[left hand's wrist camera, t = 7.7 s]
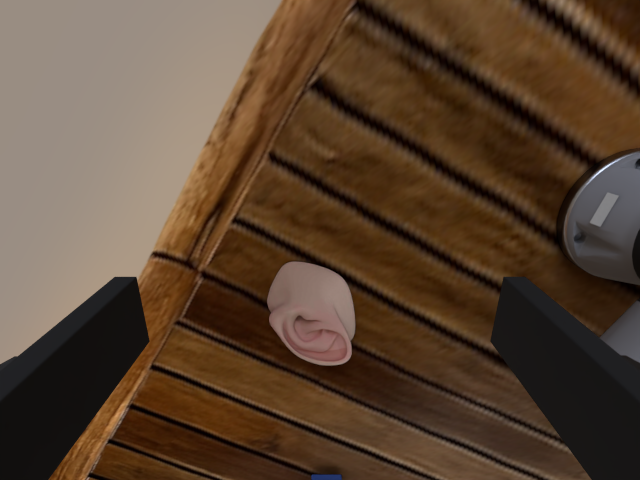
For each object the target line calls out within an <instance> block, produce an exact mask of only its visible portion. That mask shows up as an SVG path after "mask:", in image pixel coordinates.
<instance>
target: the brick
mask: <svg viewBox="0 0 640 480" xmlns="http://www.w3.org/2000/svg"><path fill="white" fill-rule="evenodd" d="M311 480H342V475H312V479H311Z"/></svg>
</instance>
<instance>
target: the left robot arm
mask: <svg viewBox="0 0 640 480" xmlns="http://www.w3.org/2000/svg"><path fill="white" fill-rule="evenodd" d="M557 235H558V240H559V244H560V246H561V249H562V251H563V252H564V254H565V255H566V257H567V258H568V259H569V260H570V261H571V262H572V263H574V264H575V265H577V266H578V267H580V268H582V269H583V270H585V271H586V272H588V273H590V274H592V275H595V276H598V277H602V278H606V279H611V280H616V281H621V282H626V283H632V284H637V285H640V148H637V149H630V150H626V151H622V152H619V153H617V154H614V155H612V156H610V157H607V158H606V159H604V160H602V161H600V162H599V163H597V164H596V165H594V166H593V167H592V168H590V169H589V170H588V171H587V172H586V173H584V174H583V175H582V176H581V177H580V178H579V179H578V181H577V182H576V183H575V184H574V185H573V187H572V188H571V190H570V191H569V193H568V194H567V196H566V198H565V200H564V202H563V204H562V207H561V209H560V213H559V217H558V223H557ZM148 343H149V336H148V331H147V327H146V322H145V317H144V312H143V307H142V302H141V297H140V292H139V288H138V283H137V278H136V277H114V278H113V279H112V280H111V281H109V282H108V283H107V284H106V285H104V286H103V287H102V288H101V289H100V290H98V291H97V292H96V293H95V294H93V295H92V296H91V297H90V298H89V299H87V300H86V301H85V302H84V303H83V304H81V305H80V306H79V307H78V308H76V309H75V310H74V311H73V312H72V313H70V314H69V315H68V316H67V317H65V318H64V319H63V320H62V321H61V322H59V323H58V324H57V325H56V326H55V327H53V328H52V329H51V330H50V331H48V332H47V333H46V334H45V335H44V336H42V337H41V338H40V339H39V340H37V341H36V342H35V343H34V344H32V345H31V346H30V347H29V348H28V349H26V350H25V351H24V352H23V353H22V354H20V355H19V356H18V357H13V358H11V359H9V360H7V361H6V362H4V363H2V364H0V480H48V479H49V478H50V476H51V475H52V474H53V472H54V471H55V470H56V468H57V467H58V466H59V464H60V463H61V461H62V460H63V459H64V457H65V456H66V455H67V453H68V452H69V451H70V449H71V448H72V446H73V445H74V444H75V442H76V441H77V440H78V438H79V437H80V436H81V434H82V433H83V431H84V430H85V429H86V427H87V426H88V425H89V423H90V422H91V421H92V419H93V418H94V416H95V415H96V414H97V412H98V411H99V410H100V408H101V407H102V406H103V404H104V403H105V401H106V400H107V399H108V397H109V396H110V395H111V393H112V392H113V390H114V389H115V388H116V386H117V385H118V384H119V382H120V381H121V380H122V378H123V377H124V375H125V374H126V373H127V371H128V370H129V369H130V367H131V366H132V365H133V363H134V362H135V360H136V359H137V358H138V356H139V355H140V354H141V352H142V351H143V350H144V348H145V347H146V345H147V344H148ZM491 343H492V344H493V345H494V347H495V348H496V350H497V351H498V352H499V354H500V355H501V356H502V358H503V359H504V360H505V362H506V363H507V365H508V366H509V367H510V369H511V370H512V371H513V373H514V374H515V375H516V377H517V378H518V380H519V381H520V382H521V384H522V385H523V386H524V388H525V389H526V390H527V392H528V393H529V395H530V396H531V397H532V399H533V400H534V401H535V403H536V404H537V406H538V407H539V408H540V410H541V411H542V412H543V414H544V415H545V416H546V418H547V419H548V421H549V422H550V423H551V425H552V426H553V427H554V429H555V430H556V431H557V433H558V434H559V436H560V437H561V438H562V440H563V441H564V442H565V444H566V445H567V446H568V448H569V449H570V451H571V452H572V453H573V455H574V456H575V457H576V459H577V460H578V461H579V463H580V464H581V466H582V467H583V468H584V470H585V471H586V472H587V474H588V475H589V476H590V478H591V479H592V480H640V298H639V299H638V300H636V301H635V302H634V303H633V304H632V305H631V306H630V307H629V308H628V309H627V310H626V311H625V312H624V313H623V314H622V315H621V316H620V317H619V318H618V319H617V320H616V321H615V322H614V323H613V324H612V325H611V326H610V327H609V328H608V329H607V330H606V331H605V332H604V333H603V334H602V335H601V336H600V337H598V336H597V335H595V334H594V333H593V332H592V331H590V330H589V329H588V328H587V327H586V326H584V325H583V324H582V323H581V322H579V321H578V320H577V319H576V318H575V317H573V316H572V315H571V314H570V313H568V312H567V311H566V310H565V309H564V308H562V307H561V306H560V305H559V304H557V303H556V302H555V301H554V300H553V299H551V298H550V297H549V296H548V295H547V294H545V293H544V292H543V291H542V290H540V289H539V288H538V287H537V286H536V285H534V284H533V283H532V282H531V281H529V280H528V279H527V278H526V277H504V278H503V283H502V288H501V292H500V297H499V302H498V307H497V312H496V317H495V322H494V327H493V331H492V336H491Z"/></svg>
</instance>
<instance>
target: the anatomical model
mask: <svg viewBox="0 0 640 480" xmlns="http://www.w3.org/2000/svg"><path fill="white" fill-rule="evenodd" d="M267 304H268V307H269V310H270V311H271V314H270V317H269V322H270V324H271V326H272V328H273V329H274V330H275V331H276V333H277V334H278V335H279V337H280V338H281V340H282V341H283V342H284V344H285V345H286V346H287V347H288V348H289V349H290V350H291V351H292V352H293V353H294V354H295V355H297V356H298V357H300V358H302V359H304V360H306V361H308V362H311V363H315V364H319V365H339V364H343V363H345V362H347V361H348V360H349V359H350V357H351V354H352V346H351V342H350V341H351V340H352V338H353V336H354V333H355V314H354V307H353V301H352V297H351V293H350V290H349V287H348V285H347V283H346V282H345V280H344V279H343V278H342V277H341V276H339V275H338V274H337V273H335V272H333V271H331V270H329V269H327V268H324V267H321V266H318V265H314V264H310V263H305V262H289V263H286V264H285V265H283V266H282V268H281V269H280V270H279V272H278V273H277V275H276V277H275V279H274V281H273V283H272V285H271V288H270V291H269V295H268V299H267Z"/></svg>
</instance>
